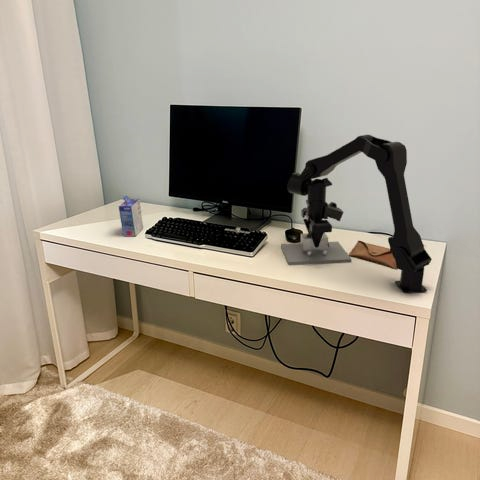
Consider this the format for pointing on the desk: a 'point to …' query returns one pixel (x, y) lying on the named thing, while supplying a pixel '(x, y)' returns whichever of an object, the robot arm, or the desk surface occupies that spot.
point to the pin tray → (314, 254)
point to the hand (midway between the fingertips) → (314, 244)
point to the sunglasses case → (373, 254)
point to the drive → (309, 245)
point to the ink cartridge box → (131, 217)
